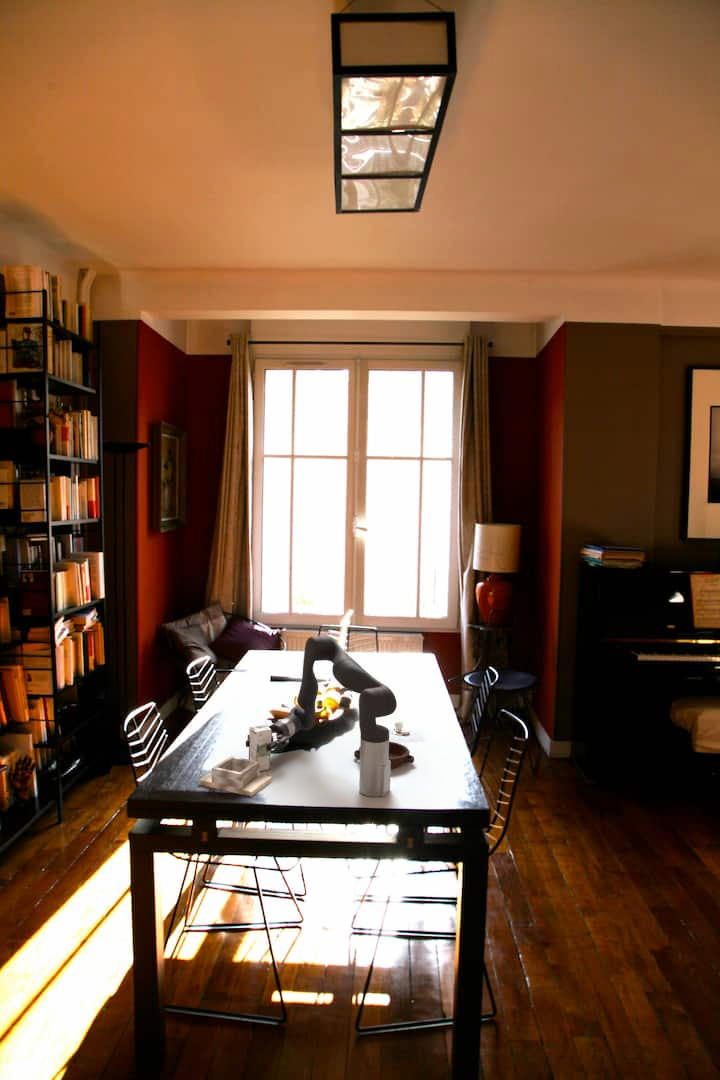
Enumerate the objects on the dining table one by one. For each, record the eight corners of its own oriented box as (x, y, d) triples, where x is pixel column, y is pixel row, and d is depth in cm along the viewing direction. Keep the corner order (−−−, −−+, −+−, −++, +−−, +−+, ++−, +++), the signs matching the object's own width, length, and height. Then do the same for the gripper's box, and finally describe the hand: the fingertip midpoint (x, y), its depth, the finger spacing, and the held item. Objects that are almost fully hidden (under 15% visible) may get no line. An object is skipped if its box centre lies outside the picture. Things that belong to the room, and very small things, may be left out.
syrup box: (263, 763, 212) (263, 723, 211) (270, 769, 207) (271, 728, 207) (248, 767, 208) (248, 726, 208) (256, 773, 204) (256, 731, 203)
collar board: (271, 781, 198) (272, 763, 198) (251, 796, 187) (252, 777, 187) (221, 770, 206) (221, 753, 205) (199, 784, 194) (199, 766, 194)
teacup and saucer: (411, 736, 244) (412, 726, 244) (393, 737, 242) (393, 727, 242) (405, 728, 253) (405, 719, 253) (387, 729, 251) (387, 720, 251)
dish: (411, 776, 205) (412, 761, 205) (348, 769, 209) (349, 755, 209) (416, 756, 222) (416, 743, 222) (358, 751, 227) (358, 738, 226)
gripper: (264, 718, 223) (239, 732, 208) (298, 724, 218) (275, 738, 203) (264, 738, 224) (239, 753, 209) (297, 744, 218) (274, 760, 203)
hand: (257, 746), depth 206 cm, fingers closed on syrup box, 8 cm apart
